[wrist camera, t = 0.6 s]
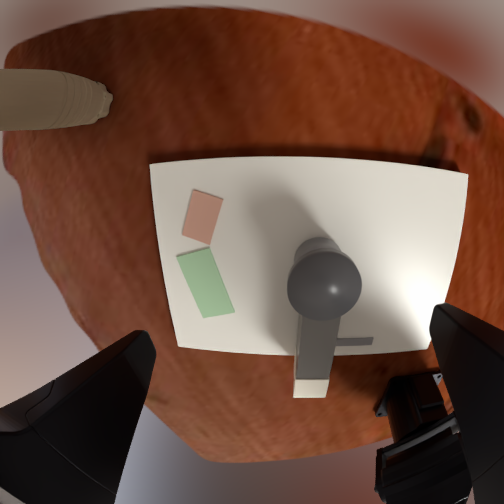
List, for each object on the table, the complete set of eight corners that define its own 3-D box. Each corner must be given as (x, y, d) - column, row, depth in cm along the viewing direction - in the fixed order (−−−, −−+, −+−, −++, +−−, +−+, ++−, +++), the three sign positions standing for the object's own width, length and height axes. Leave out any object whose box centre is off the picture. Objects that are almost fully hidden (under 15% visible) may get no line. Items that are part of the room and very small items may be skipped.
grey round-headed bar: (288, 230, 17) (287, 253, 13) (351, 231, 16) (366, 254, 13) (283, 361, 21) (281, 397, 17) (332, 362, 20) (336, 397, 17)
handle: (81, 73, 15) (-75, 64, 1) (139, 78, 15) (-50, 43, 2) (66, 127, 17) (-90, 155, 3) (121, 140, 17) (-73, 176, 3)
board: (423, 342, 20) (427, 350, 19) (182, 339, 23) (177, 347, 22) (460, 172, 15) (469, 174, 14) (156, 163, 18) (148, 164, 17)
